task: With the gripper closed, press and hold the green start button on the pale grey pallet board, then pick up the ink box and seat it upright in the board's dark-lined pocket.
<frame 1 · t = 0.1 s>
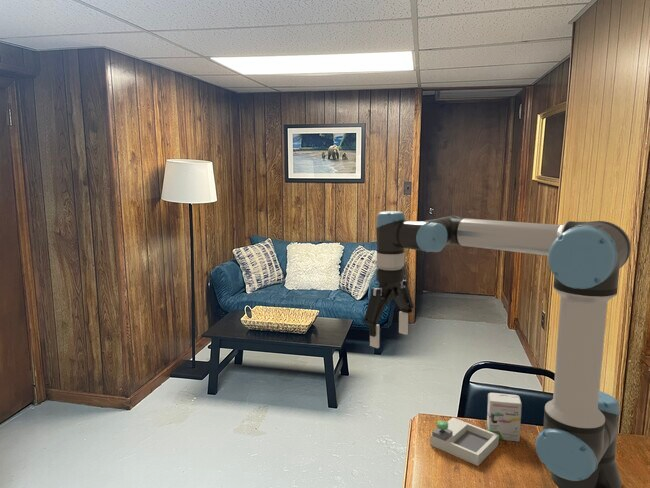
hand: (389, 340, 136), 28 cm above the table, fingers open, 13 cm apart
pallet: (464, 444, 132), on the table
start button: (442, 427, 132), point 5 cm above the table, slide at 0.0 cm
ink box: (502, 436, 137), on the table
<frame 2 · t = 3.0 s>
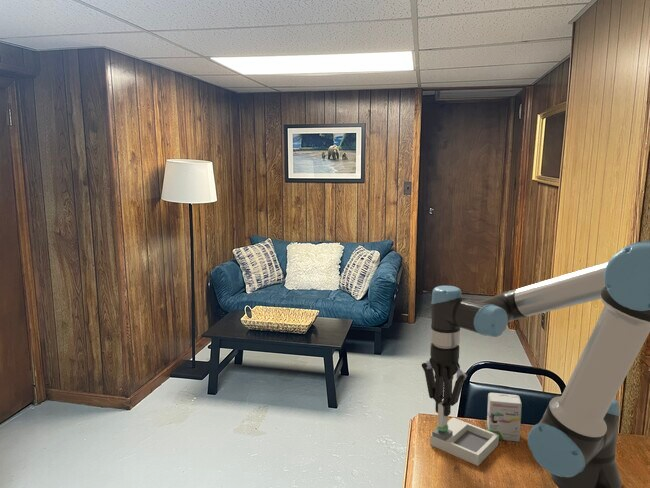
hand: (442, 424, 131), 6 cm above the table, fingers closed
start button: (442, 429, 132), point 5 cm above the table, slide at 0.7 cm, touching gripper
everything else where it was.
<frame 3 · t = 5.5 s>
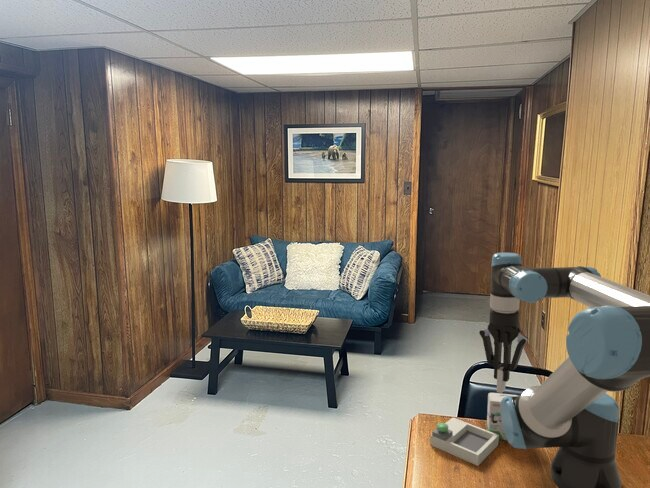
hand: (500, 390, 134), 14 cm above the table, fingers closed
start button: (442, 429, 132), point 5 cm above the table, slide at 0.7 cm
everything else where it was.
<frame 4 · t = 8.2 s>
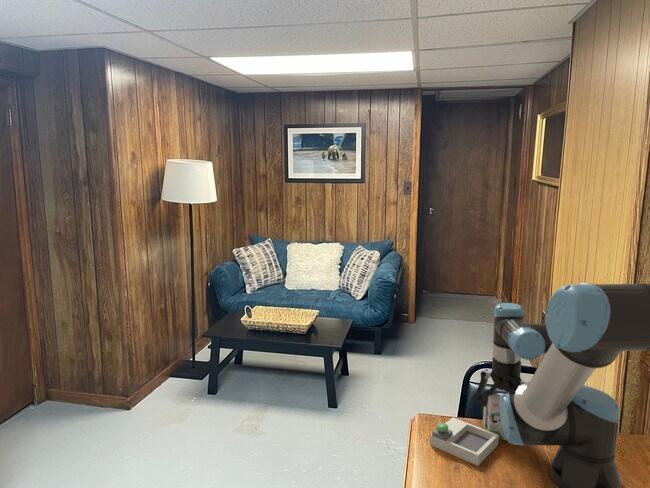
hand: (502, 432, 136), 1 cm above the table, fingers closed on ink box, 9 cm apart
ink box: (502, 436, 137), on the table, touching gripper
everything else where it was.
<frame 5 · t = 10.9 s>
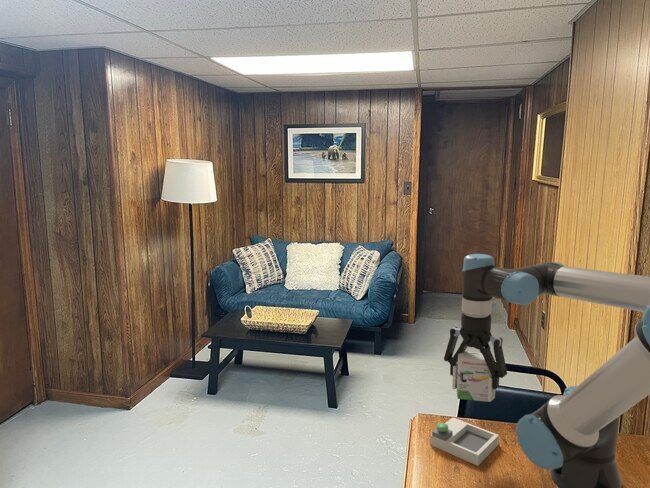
hand: (473, 393, 128), 16 cm above the table, fingers closed on ink box, 9 cm apart
ink box: (473, 397, 129), point 15 cm above the table, touching gripper
everything else where it was.
when the fingers open (4 cm above the table, at t = 13.6 s): ink box stays where it is, resting on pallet.
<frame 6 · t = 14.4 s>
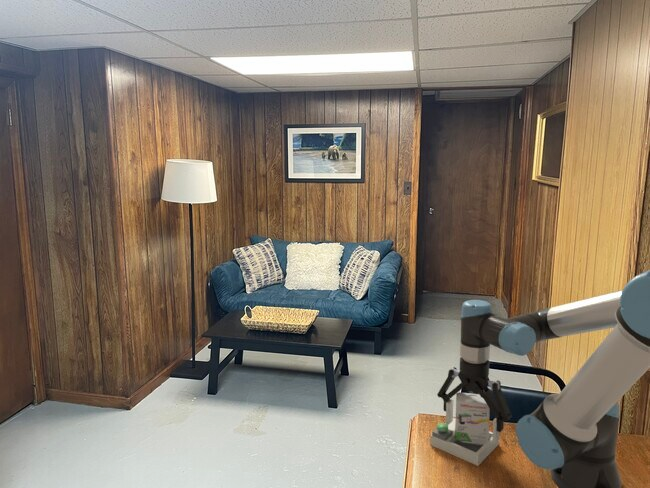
hand: (471, 431, 130), 5 cm above the table, fingers open, 13 cm apart
ink box: (471, 438, 131), point 3 cm above the table, touching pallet
everything else where it was.
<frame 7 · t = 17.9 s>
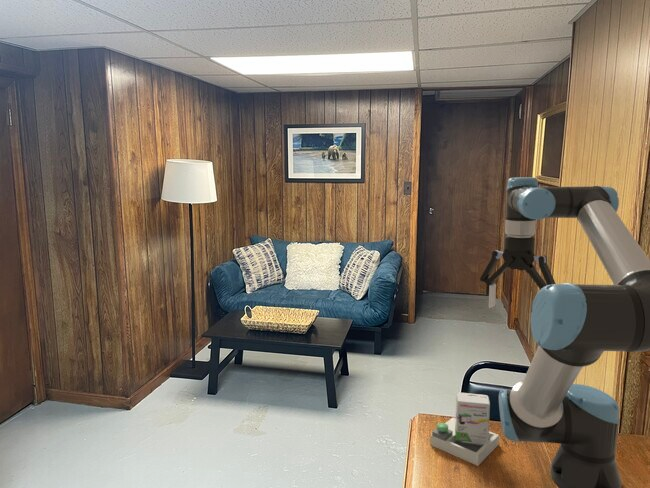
hand: (515, 311, 131), 37 cm above the table, fingers open, 13 cm apart
nothing on the table moved.
at the end: ink box 0.1 cm from the target spot, point 2.8 cm above the table; ink box tilted 0°; start button slide at 0.7 cm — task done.
